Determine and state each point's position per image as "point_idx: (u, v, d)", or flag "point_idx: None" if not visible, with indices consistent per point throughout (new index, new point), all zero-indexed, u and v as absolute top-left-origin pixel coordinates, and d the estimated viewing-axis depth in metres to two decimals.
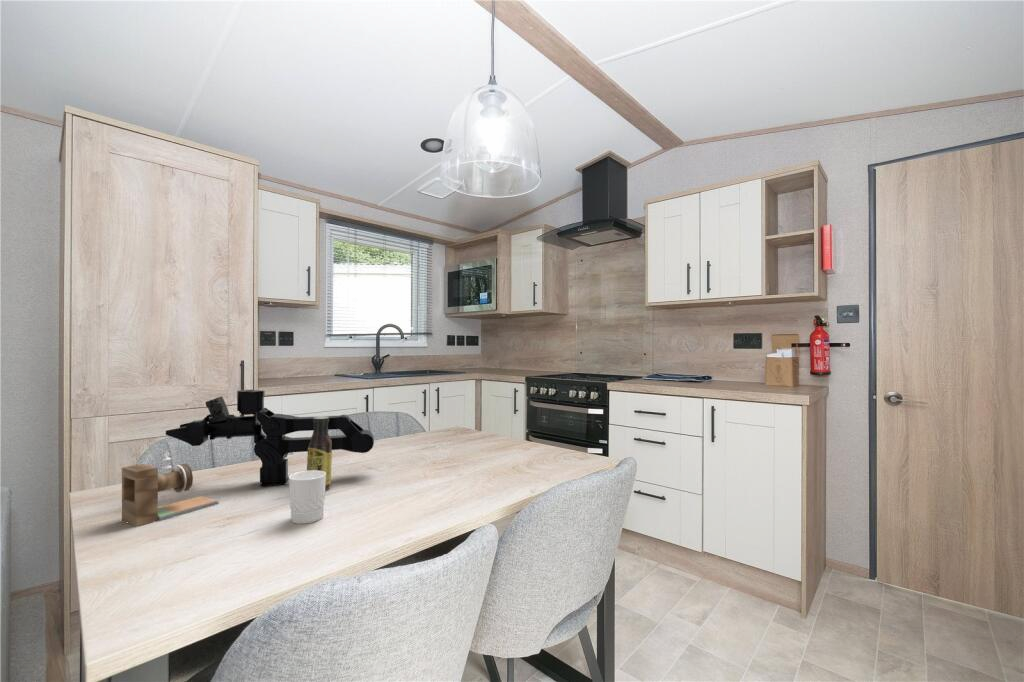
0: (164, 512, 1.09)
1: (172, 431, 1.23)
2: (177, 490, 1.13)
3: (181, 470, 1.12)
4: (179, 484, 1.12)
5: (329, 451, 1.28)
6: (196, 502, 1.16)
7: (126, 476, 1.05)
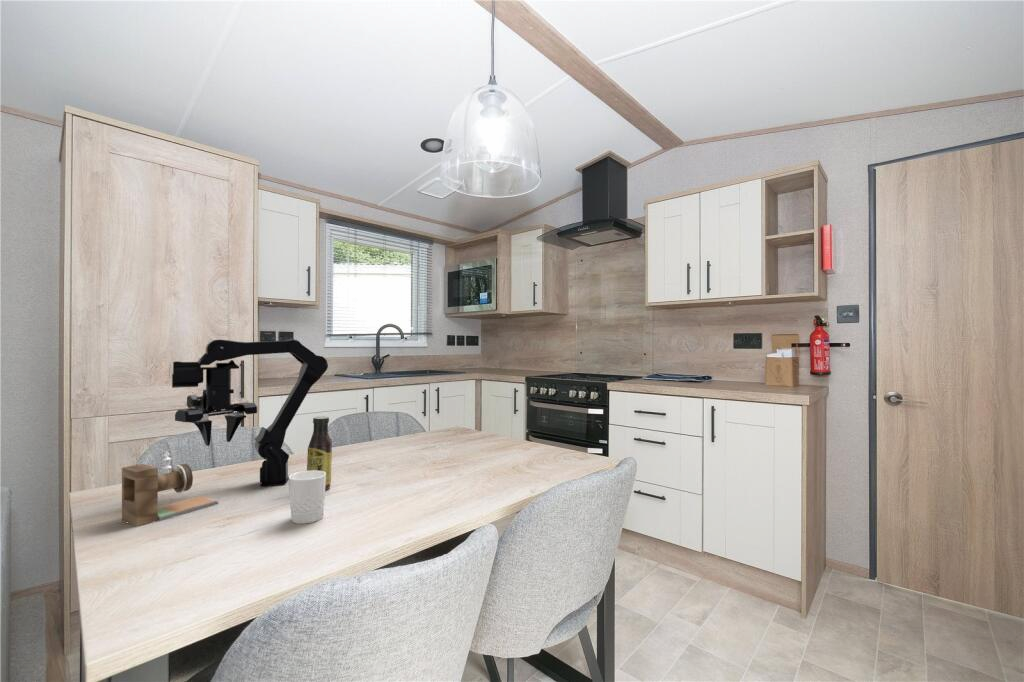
0: (164, 512, 1.09)
1: (203, 438, 1.24)
2: (177, 490, 1.13)
3: (181, 470, 1.12)
4: (179, 484, 1.12)
5: (329, 451, 1.28)
6: (196, 502, 1.16)
7: (126, 476, 1.05)
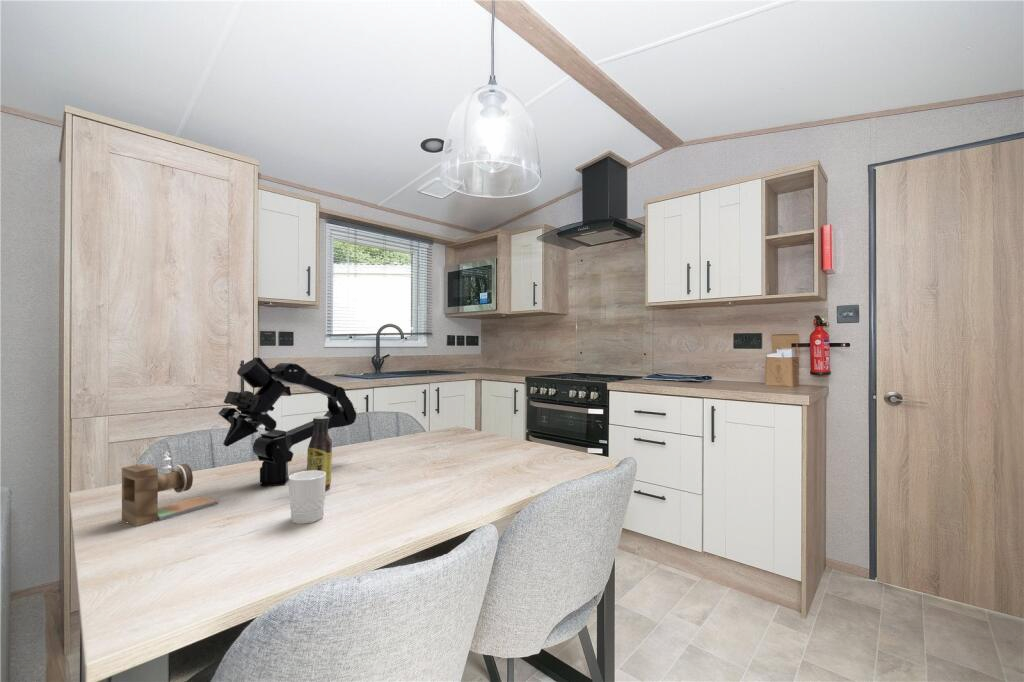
0: (164, 512, 1.09)
1: (231, 438, 1.23)
2: (177, 490, 1.13)
3: (181, 470, 1.12)
4: (179, 484, 1.12)
5: (329, 451, 1.28)
6: (196, 502, 1.16)
7: (126, 476, 1.05)
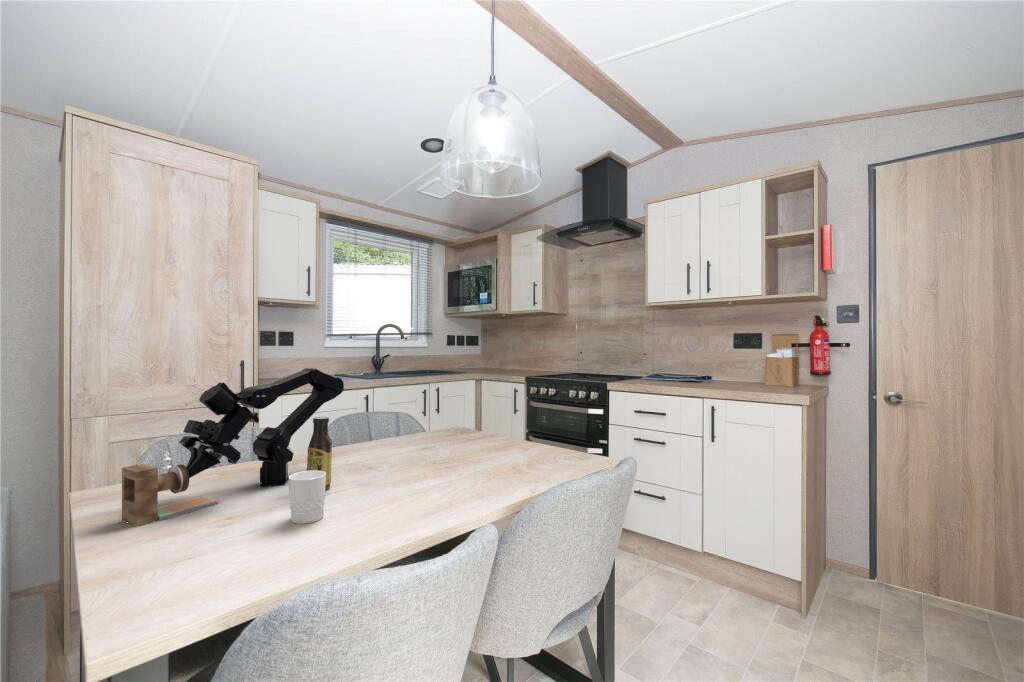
0: (164, 512, 1.09)
1: (190, 471, 1.14)
2: (173, 491, 1.12)
3: (177, 471, 1.11)
4: (175, 485, 1.11)
5: (329, 451, 1.28)
6: (196, 502, 1.16)
7: (126, 476, 1.05)
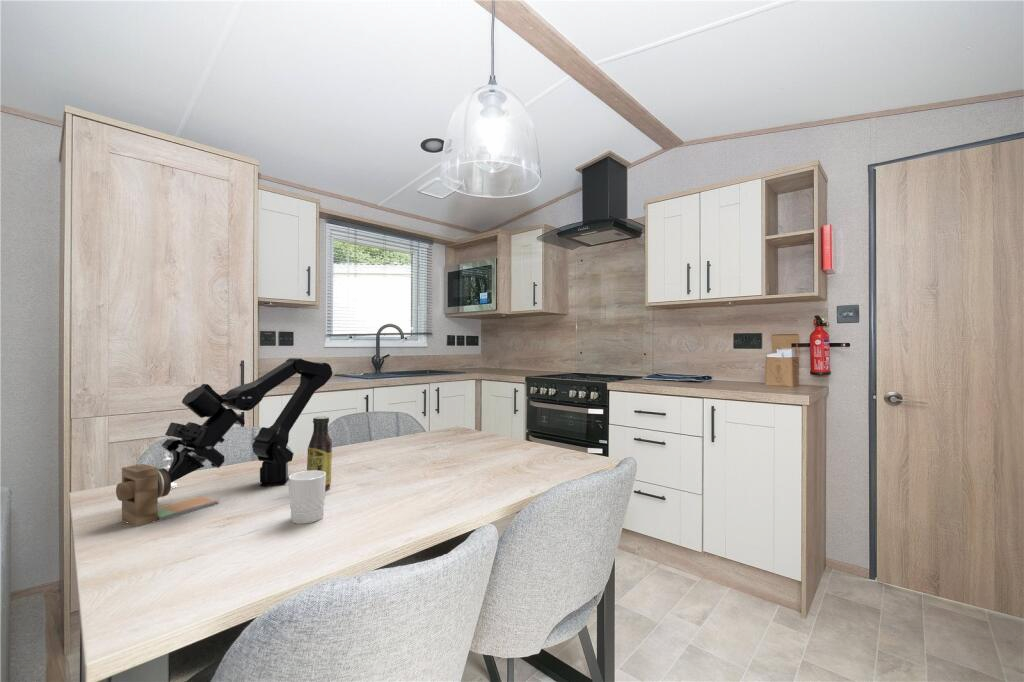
0: (164, 512, 1.09)
1: (172, 475, 1.11)
2: None
3: (159, 475, 1.08)
4: None
5: (329, 451, 1.28)
6: (196, 502, 1.16)
7: (126, 476, 1.05)
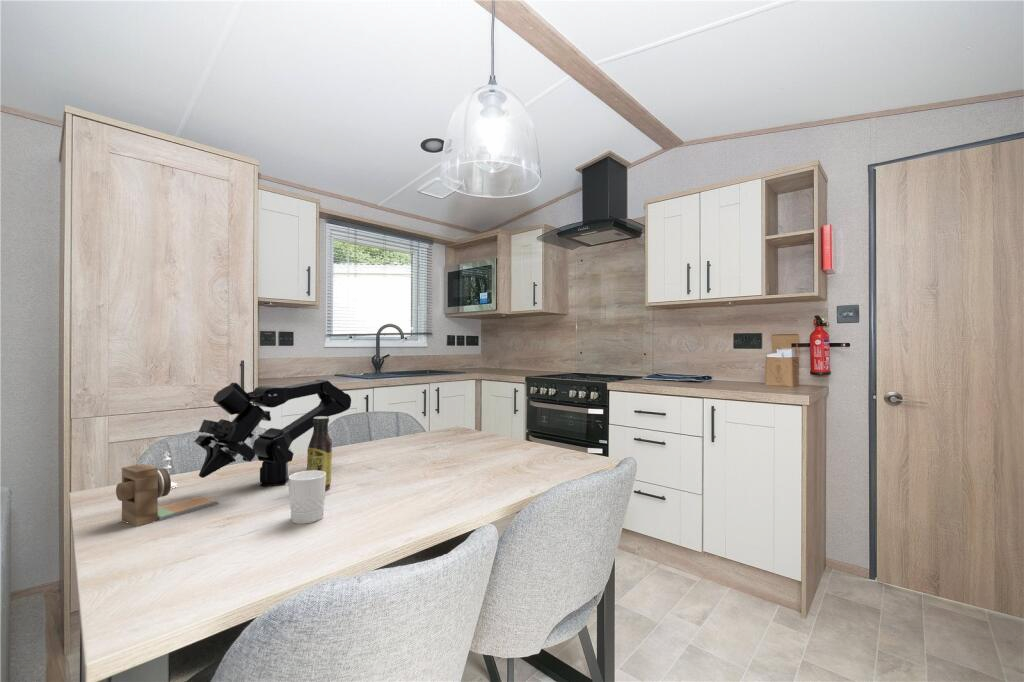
0: (164, 512, 1.09)
1: (207, 469, 1.18)
2: None
3: (159, 475, 1.08)
4: None
5: (329, 451, 1.28)
6: (196, 502, 1.16)
7: (126, 476, 1.05)
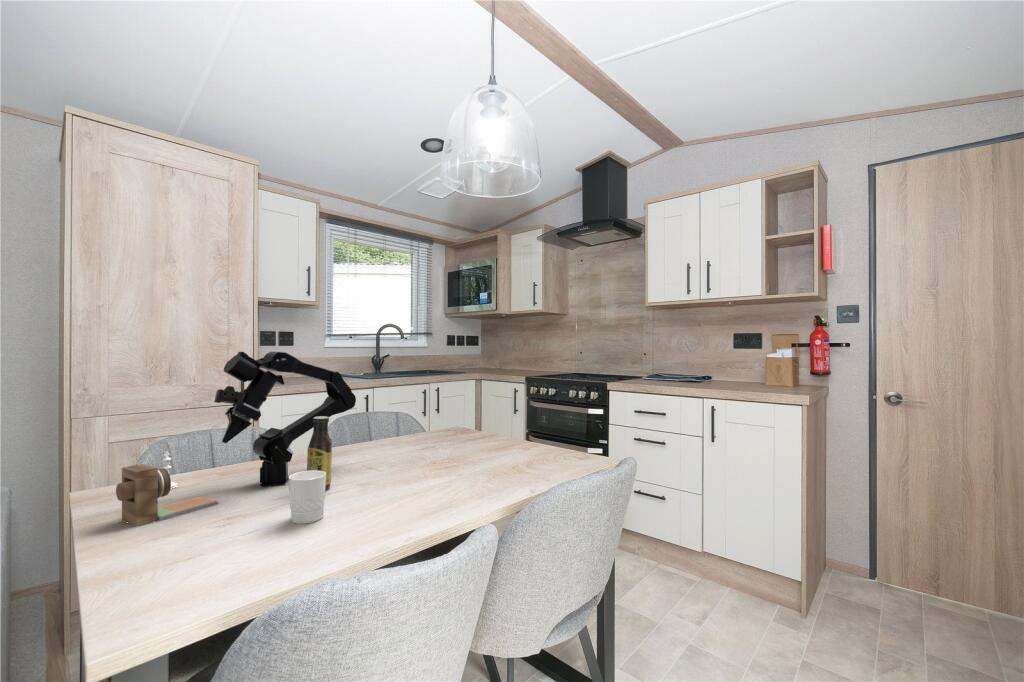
0: (164, 512, 1.09)
1: (227, 435, 1.24)
2: None
3: (159, 475, 1.08)
4: None
5: (329, 451, 1.28)
6: (196, 502, 1.16)
7: (126, 476, 1.05)
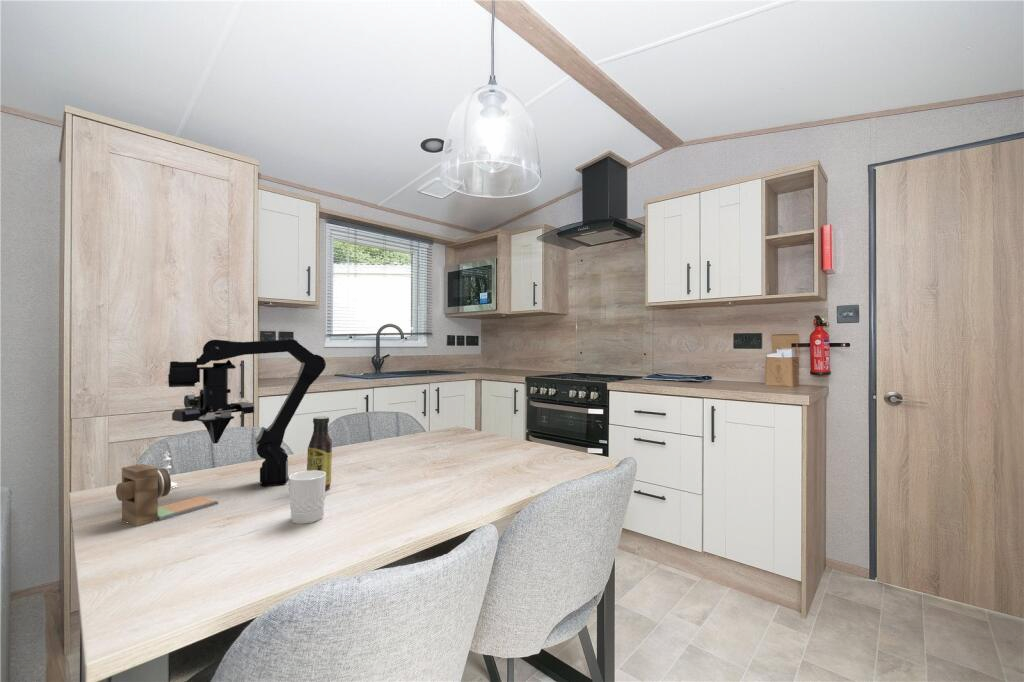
0: (164, 512, 1.09)
1: (210, 436, 1.27)
2: None
3: (159, 475, 1.08)
4: None
5: (329, 451, 1.28)
6: (196, 502, 1.16)
7: (126, 476, 1.05)
